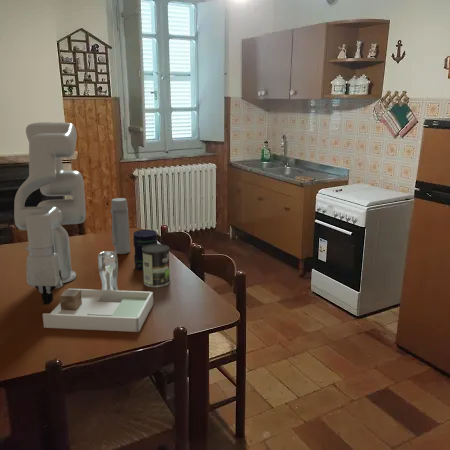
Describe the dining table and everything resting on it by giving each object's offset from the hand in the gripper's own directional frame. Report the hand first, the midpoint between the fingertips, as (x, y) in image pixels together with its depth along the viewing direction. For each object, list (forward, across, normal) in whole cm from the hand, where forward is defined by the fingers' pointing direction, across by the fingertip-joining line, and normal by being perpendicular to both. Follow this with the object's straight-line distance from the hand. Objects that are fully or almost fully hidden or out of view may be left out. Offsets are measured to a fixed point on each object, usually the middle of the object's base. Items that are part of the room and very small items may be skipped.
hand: (48, 302), depth 147 cm
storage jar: (+4, +22, +45) cm, 50 cm away
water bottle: (+4, +6, +60) cm, 61 cm away
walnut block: (+1, +8, 0) cm, 8 cm away
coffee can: (+4, +30, +29) cm, 42 cm away
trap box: (+4, +18, 0) cm, 18 cm away
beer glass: (+4, +15, +18) cm, 23 cm away
